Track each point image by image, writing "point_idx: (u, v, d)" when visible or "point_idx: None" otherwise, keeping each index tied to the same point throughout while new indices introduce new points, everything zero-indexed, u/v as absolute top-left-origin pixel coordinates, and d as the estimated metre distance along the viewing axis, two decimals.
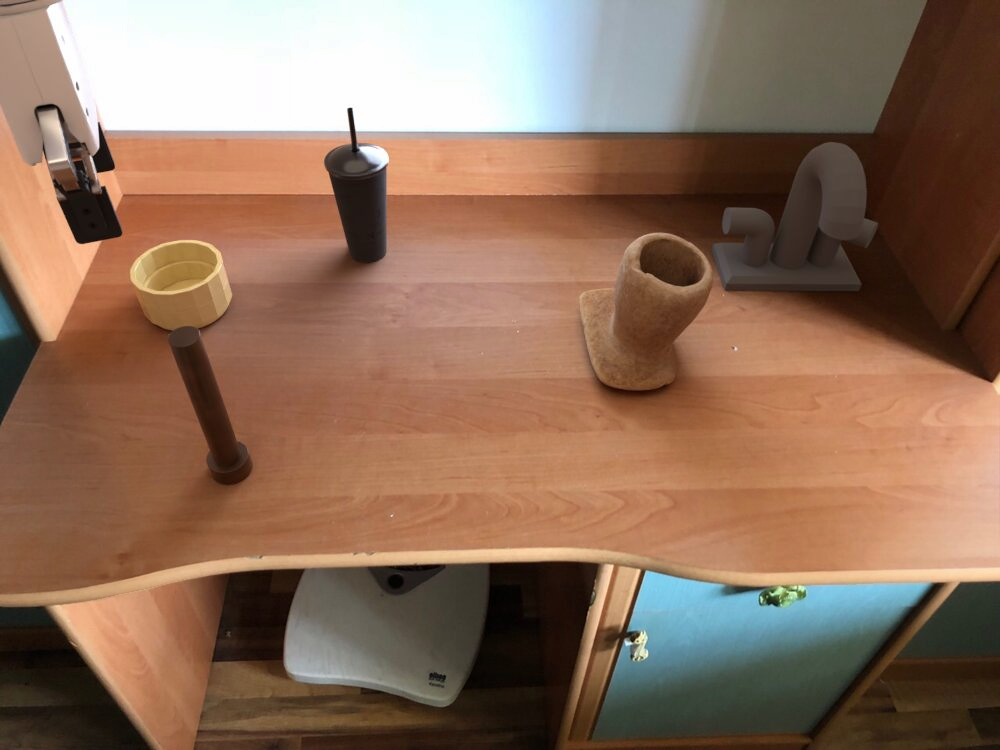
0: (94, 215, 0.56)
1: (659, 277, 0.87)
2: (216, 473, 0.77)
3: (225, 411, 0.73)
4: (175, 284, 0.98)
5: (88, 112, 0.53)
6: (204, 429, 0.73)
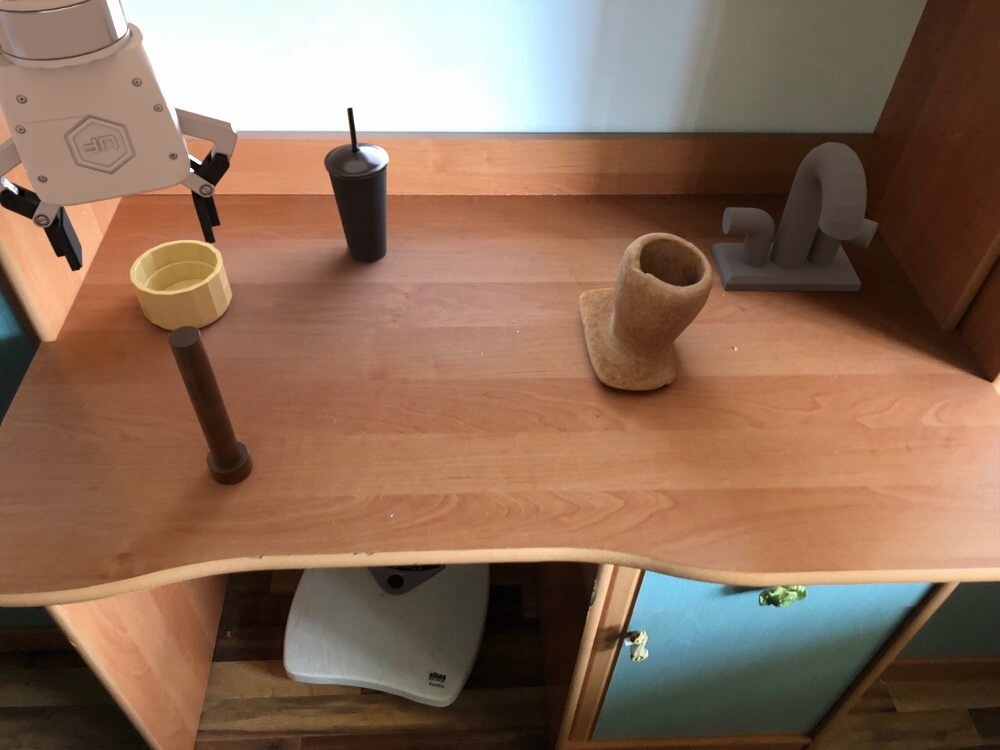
0: None
1: (659, 277, 0.87)
2: (216, 473, 0.77)
3: (225, 411, 0.73)
4: (175, 284, 0.98)
5: None
6: (204, 429, 0.73)
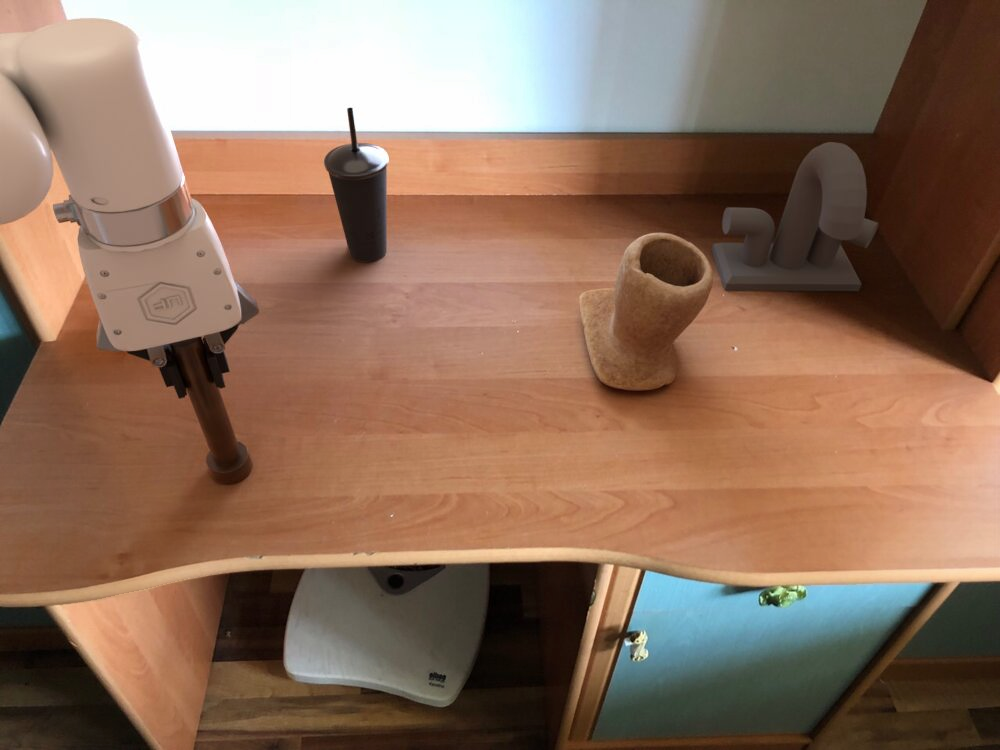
0: None
1: (659, 277, 0.87)
2: (216, 473, 0.77)
3: (225, 411, 0.73)
4: None
5: None
6: (204, 429, 0.73)
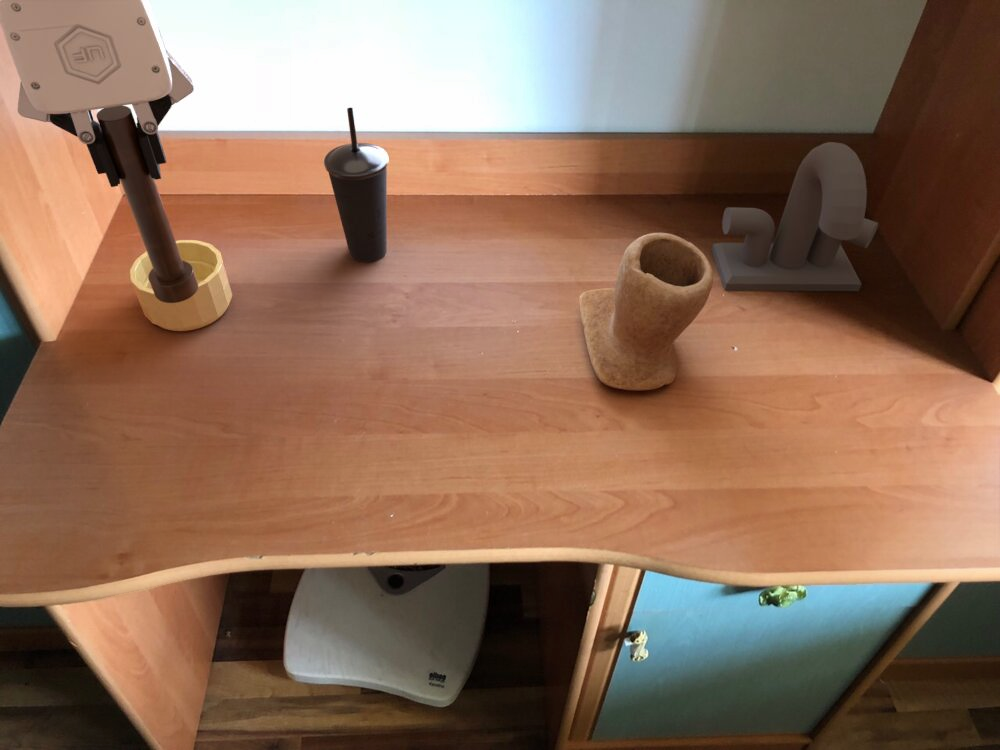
0: (159, 139, 0.66)
1: (659, 277, 0.87)
2: (158, 288, 0.73)
3: (164, 214, 0.70)
4: None
5: None
6: (142, 233, 0.70)
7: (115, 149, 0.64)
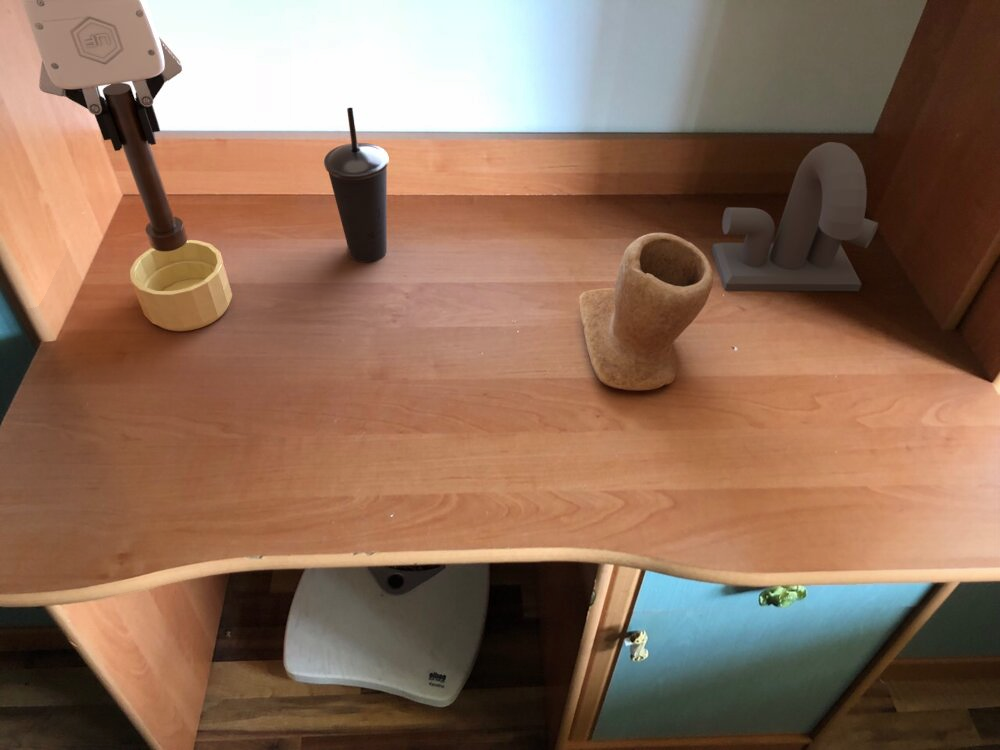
0: (154, 112, 0.80)
1: (659, 277, 0.87)
2: (154, 238, 0.87)
3: (158, 174, 0.84)
4: (175, 284, 0.98)
5: None
6: (140, 190, 0.84)
7: (118, 119, 0.78)
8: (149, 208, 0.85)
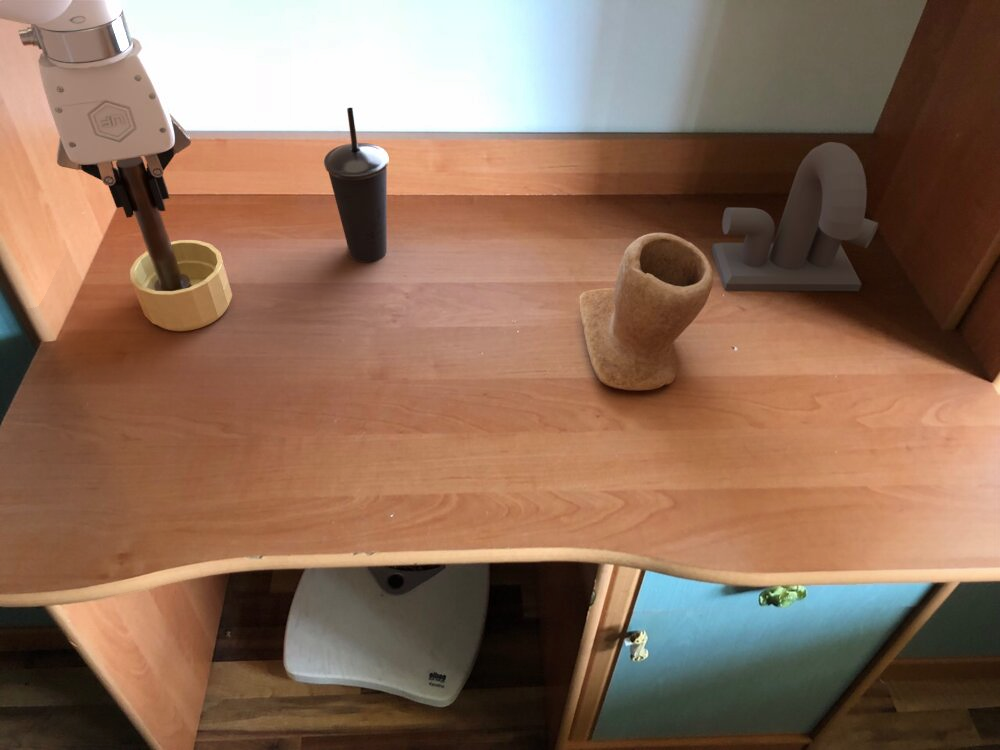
0: (164, 180, 0.85)
1: (659, 277, 0.87)
2: None
3: (167, 237, 0.88)
4: None
5: None
6: (150, 252, 0.88)
7: (130, 188, 0.82)
8: (158, 268, 0.90)
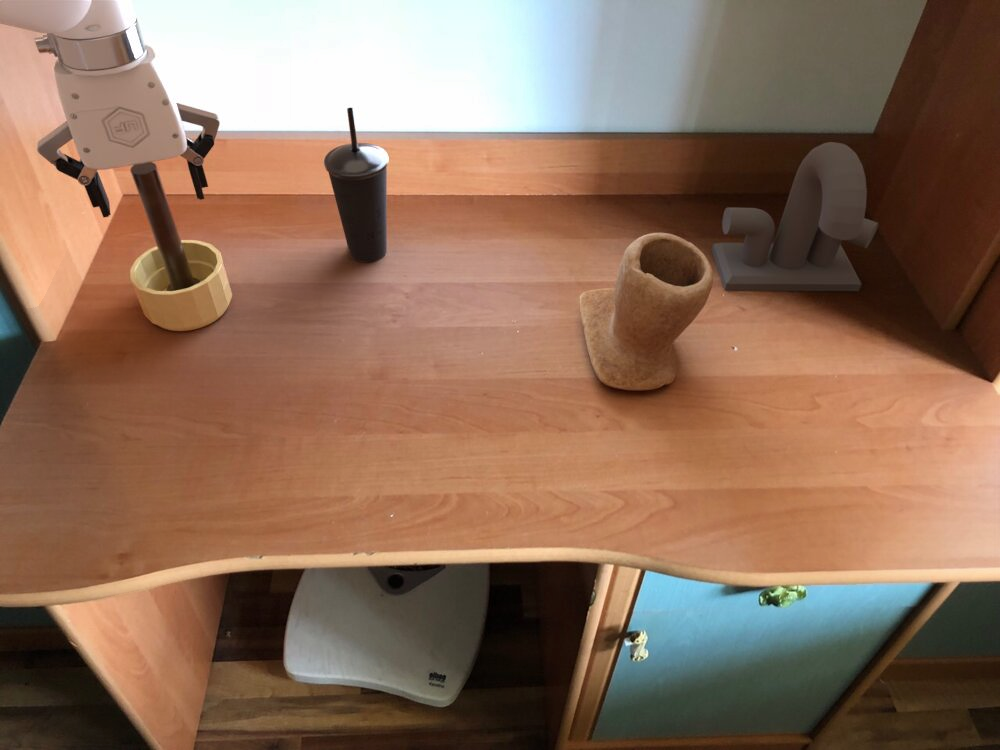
0: None
1: (659, 277, 0.87)
2: None
3: (180, 242, 0.90)
4: None
5: None
6: (163, 257, 0.90)
7: (144, 195, 0.84)
8: (171, 272, 0.91)
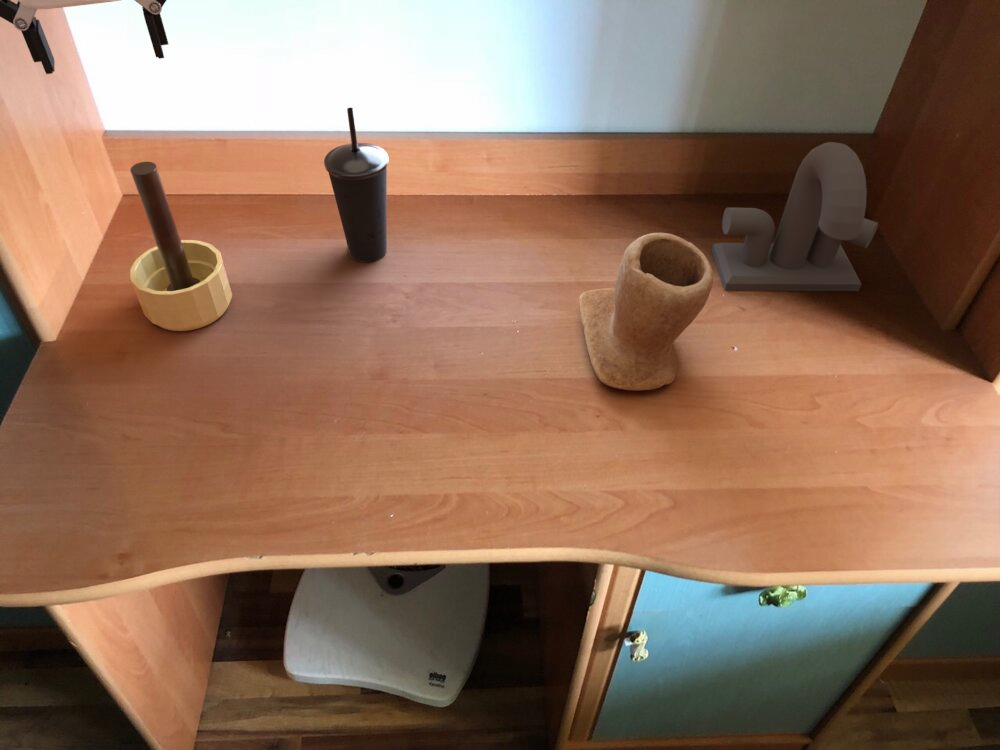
0: None
1: (659, 277, 0.87)
2: None
3: (180, 242, 0.90)
4: None
5: None
6: (163, 257, 0.90)
7: (144, 195, 0.84)
8: (171, 272, 0.91)
